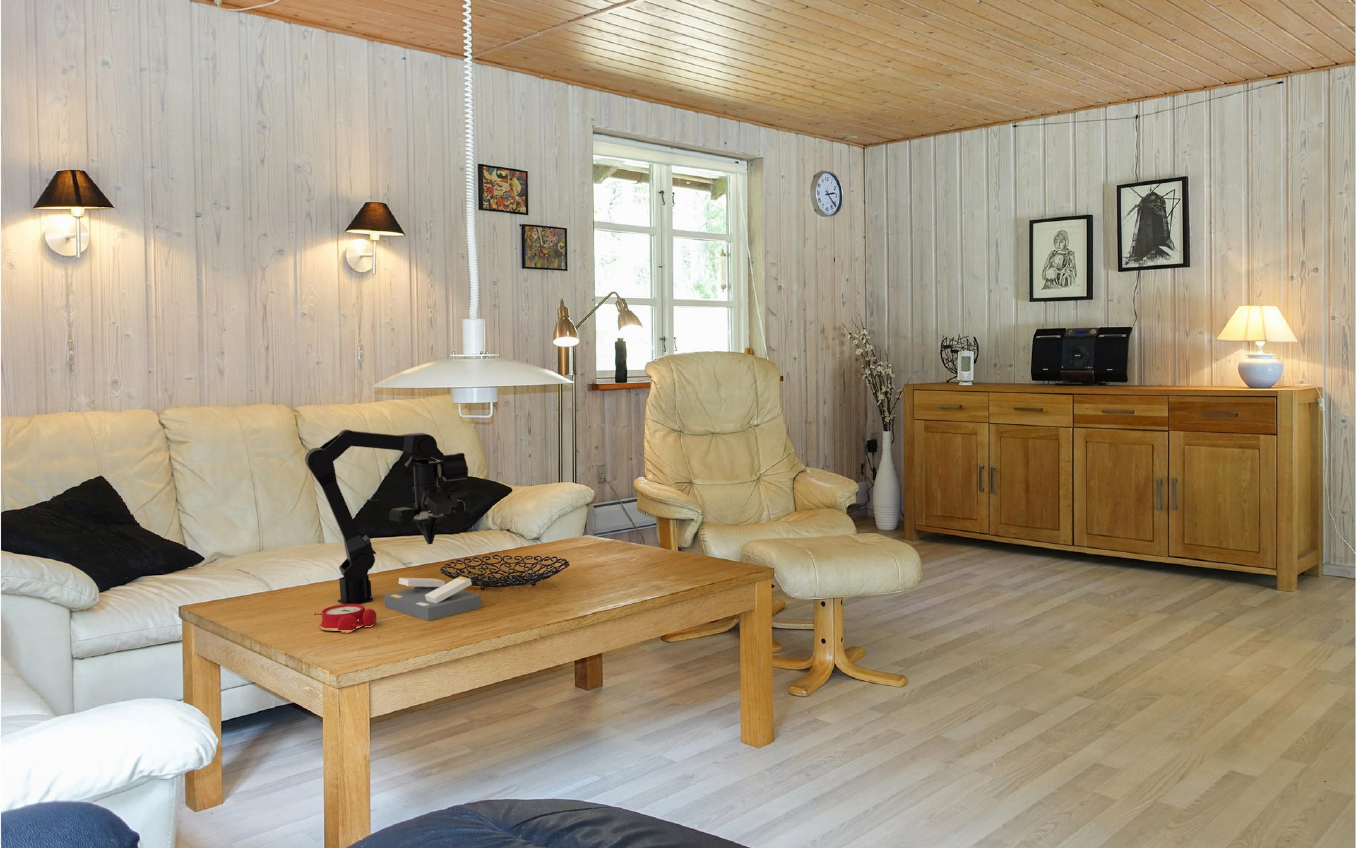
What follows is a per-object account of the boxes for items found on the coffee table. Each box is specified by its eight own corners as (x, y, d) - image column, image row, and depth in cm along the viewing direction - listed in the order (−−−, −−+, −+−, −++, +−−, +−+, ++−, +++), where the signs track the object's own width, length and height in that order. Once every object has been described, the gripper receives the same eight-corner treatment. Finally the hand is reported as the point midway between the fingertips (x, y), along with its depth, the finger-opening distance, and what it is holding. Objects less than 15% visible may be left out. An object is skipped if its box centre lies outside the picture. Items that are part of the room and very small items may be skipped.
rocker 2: (436, 603, 234) (434, 597, 233) (426, 600, 237) (424, 594, 236) (471, 584, 240) (470, 578, 240) (461, 581, 243) (459, 575, 243)
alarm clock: (346, 602, 237) (384, 595, 228) (352, 628, 237) (390, 623, 227) (306, 612, 229) (344, 606, 220) (312, 640, 228) (349, 635, 219)
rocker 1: (407, 586, 242) (408, 579, 242) (398, 583, 245) (399, 577, 245) (444, 587, 249) (445, 580, 249) (434, 584, 252) (435, 578, 252)
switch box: (428, 621, 230) (427, 605, 230) (385, 607, 245) (384, 592, 244) (481, 607, 240) (480, 592, 240) (436, 595, 254) (435, 580, 254)
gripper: (408, 490, 244) (413, 554, 246) (475, 480, 257) (479, 541, 259) (386, 487, 252) (390, 549, 254) (451, 477, 265) (455, 536, 267)
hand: (430, 544), depth 258 cm, fingers closed
